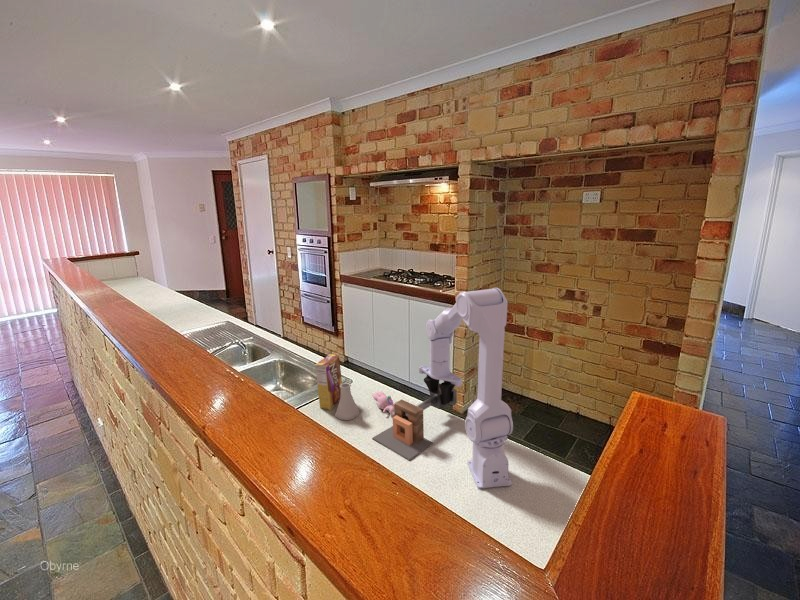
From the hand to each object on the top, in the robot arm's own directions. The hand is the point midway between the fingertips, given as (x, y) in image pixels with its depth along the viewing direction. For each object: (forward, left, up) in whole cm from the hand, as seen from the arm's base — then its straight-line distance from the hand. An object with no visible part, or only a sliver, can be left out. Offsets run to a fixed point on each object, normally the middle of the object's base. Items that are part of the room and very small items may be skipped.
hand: (440, 401), depth 116 cm
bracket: (-9, +10, -5) cm, 15 cm away
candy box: (+15, +34, -6) cm, 37 cm away
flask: (+6, +28, -6) cm, 29 cm away
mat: (-10, +13, -5) cm, 17 cm away
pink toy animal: (+7, +16, -6) cm, 18 cm away
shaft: (-4, +4, -1) cm, 6 cm away
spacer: (-10, +12, -5) cm, 17 cm away
